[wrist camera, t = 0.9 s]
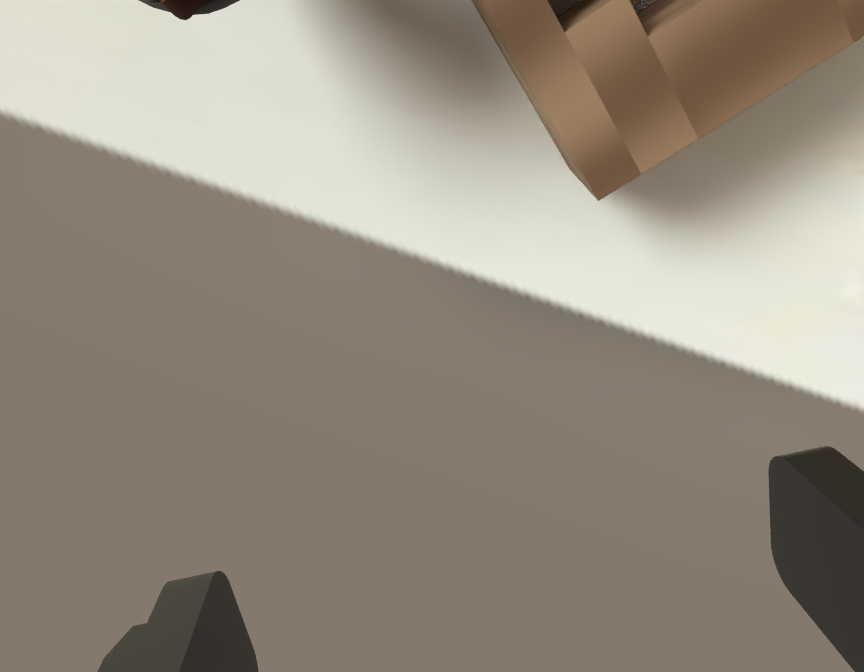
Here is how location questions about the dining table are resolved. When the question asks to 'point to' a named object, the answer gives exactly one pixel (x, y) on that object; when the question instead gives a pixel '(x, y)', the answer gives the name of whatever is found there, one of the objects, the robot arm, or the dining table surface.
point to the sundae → (189, 6)
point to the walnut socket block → (657, 70)
